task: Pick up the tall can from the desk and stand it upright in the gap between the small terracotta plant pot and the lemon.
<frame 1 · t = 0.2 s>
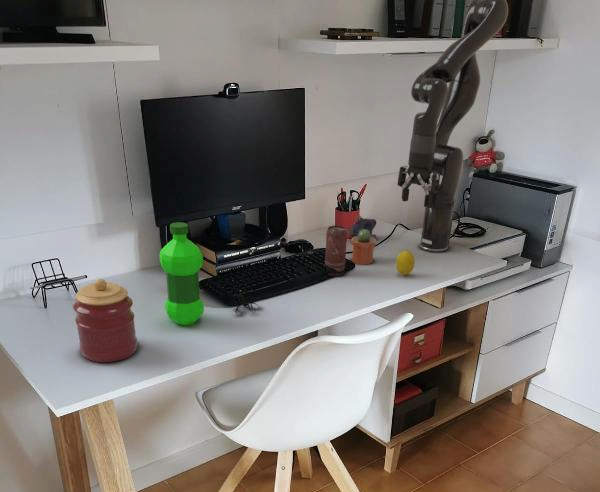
hand: (415, 203, 207), 17 cm above the table, tool pointing down, fingers open, 8 cm apart
plant pot: (362, 260, 212), on the table
creature: (245, 311, 176), on the table
can: (334, 273, 201), on the table
frog: (362, 239, 231), on the table
plastic bottle: (185, 321, 169), on the table
lemon: (403, 276, 201), on the table
kitchen canister: (109, 351, 154), on the table
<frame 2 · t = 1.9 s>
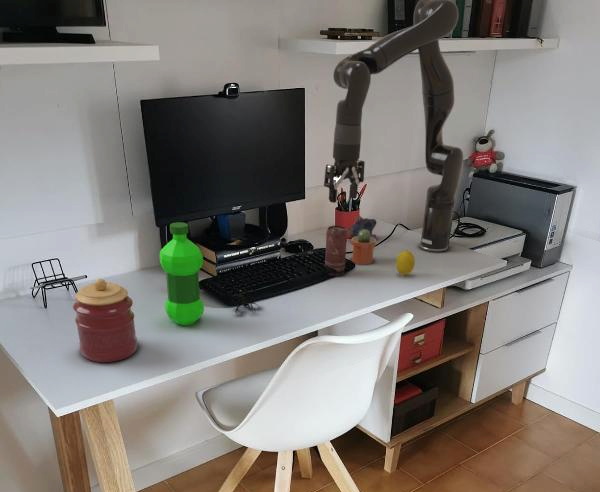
hand: (342, 200, 190), 22 cm above the table, tool pointing down, fingers open, 8 cm apart
nothing on the table moved.
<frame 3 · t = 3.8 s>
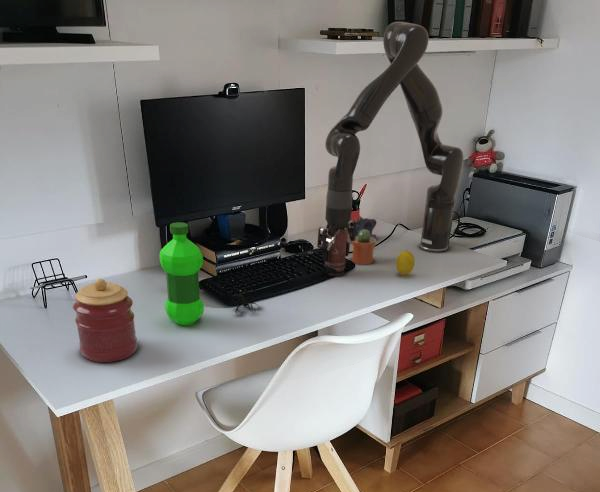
hand: (335, 258, 199), 5 cm above the table, tool pointing down, fingers open, 8 cm apart
nothing on the table moved.
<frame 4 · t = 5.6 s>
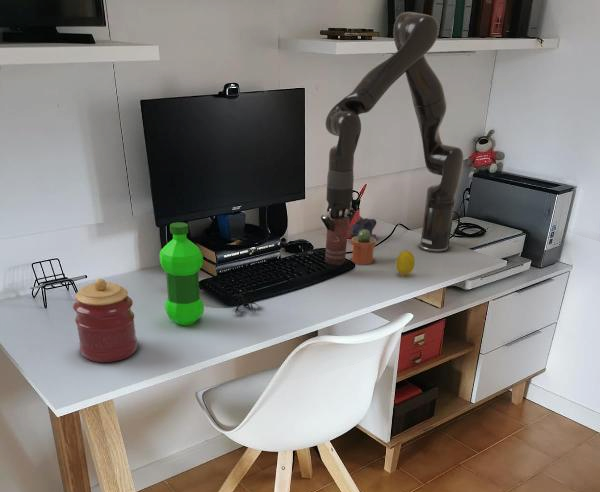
hand: (337, 243, 197), 9 cm above the table, tool pointing down, fingers closed
can: (335, 262, 199), point 3 cm above the table, touching hand
everything else where it was.
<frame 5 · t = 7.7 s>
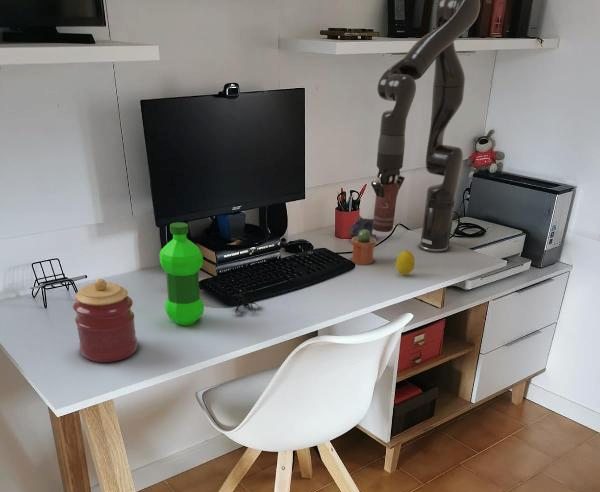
hand: (385, 210, 197), 18 cm above the table, tool pointing down, fingers closed
can: (382, 230, 199), point 12 cm above the table, touching hand
everything else where it was.
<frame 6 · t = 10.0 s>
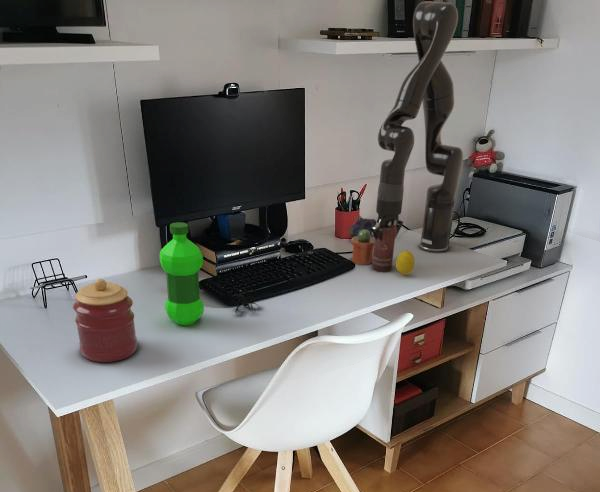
hand: (384, 253, 204), 5 cm above the table, tool pointing down, fingers closed
can: (382, 269, 206), on the table
everything else where it was.
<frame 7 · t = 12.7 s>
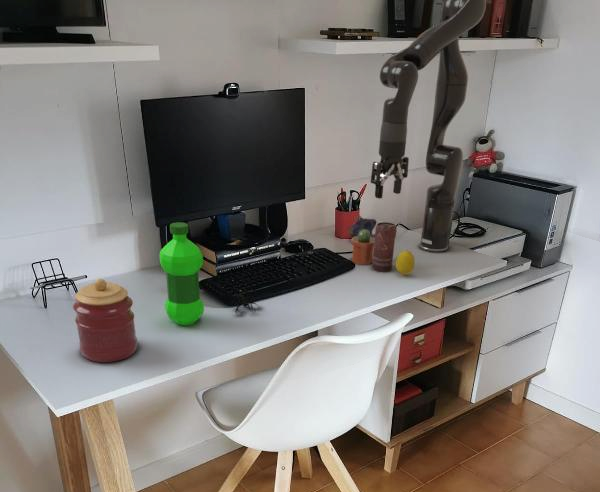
hand: (387, 195, 196), 22 cm above the table, tool pointing down, fingers open, 8 cm apart
nothing on the table moved.
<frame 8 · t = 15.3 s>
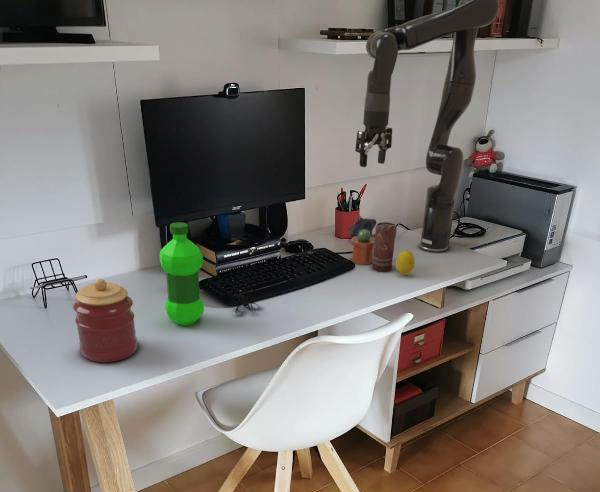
hand: (372, 165, 204), 28 cm above the table, tool pointing down, fingers open, 8 cm apart
nothing on the table moved.
at the end: can inside the target area (0.5 cm from its centre), on the table; can tilted 0°; lemon moved 0.2 cm from its start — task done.
